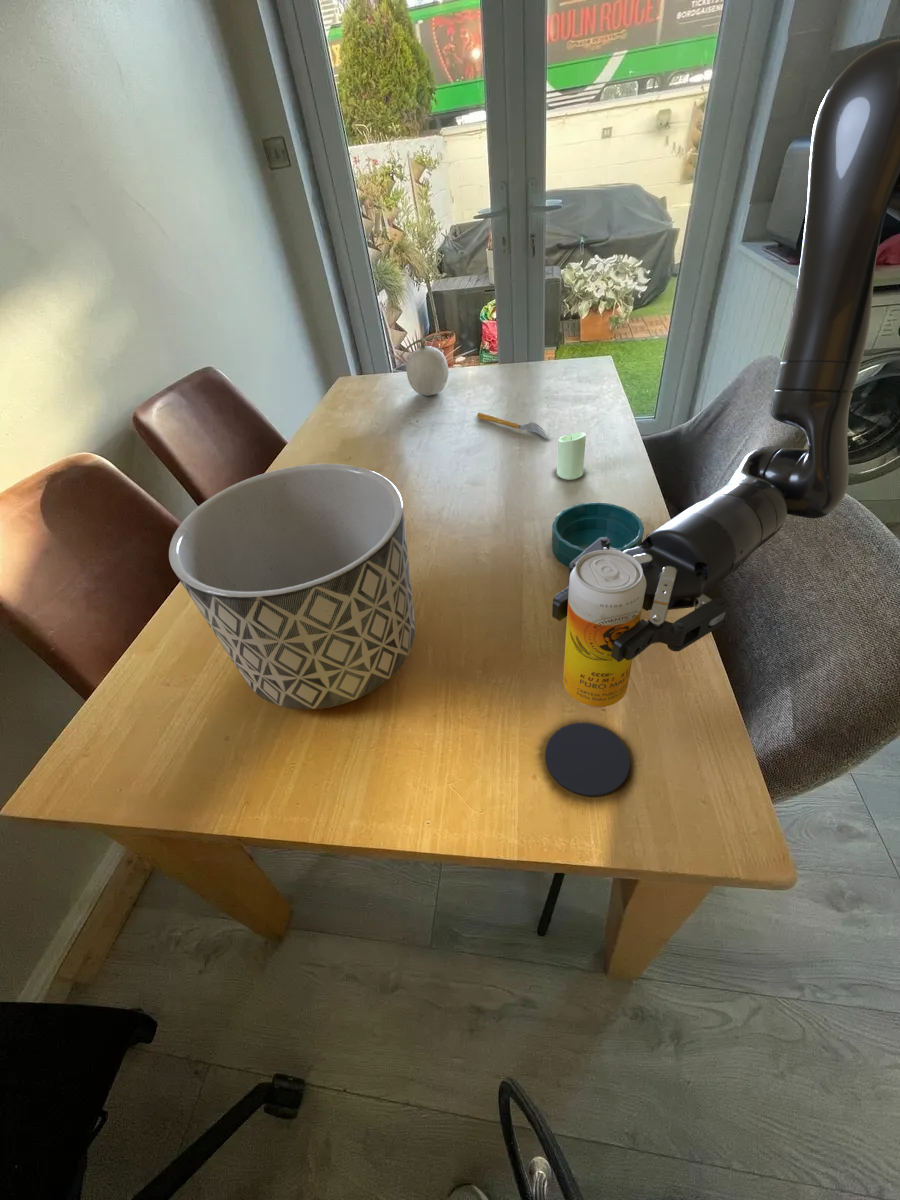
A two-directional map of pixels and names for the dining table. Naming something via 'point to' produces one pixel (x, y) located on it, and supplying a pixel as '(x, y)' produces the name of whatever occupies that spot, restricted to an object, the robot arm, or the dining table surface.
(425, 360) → the fruit
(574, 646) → the beer can
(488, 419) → the fork
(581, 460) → the candle
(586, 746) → the coaster
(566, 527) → the bowl
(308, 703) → the planter
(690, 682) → the dining table surface
